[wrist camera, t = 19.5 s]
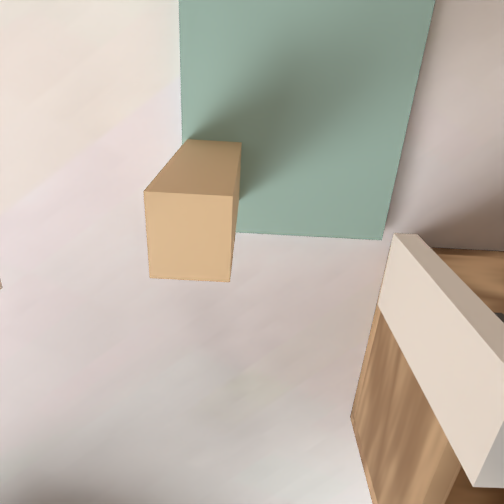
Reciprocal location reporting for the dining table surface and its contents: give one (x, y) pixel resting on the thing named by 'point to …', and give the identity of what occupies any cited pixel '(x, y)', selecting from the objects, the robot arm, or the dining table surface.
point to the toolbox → (416, 408)
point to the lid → (283, 125)
